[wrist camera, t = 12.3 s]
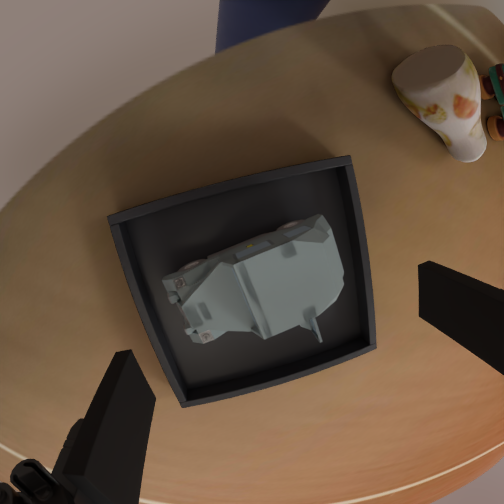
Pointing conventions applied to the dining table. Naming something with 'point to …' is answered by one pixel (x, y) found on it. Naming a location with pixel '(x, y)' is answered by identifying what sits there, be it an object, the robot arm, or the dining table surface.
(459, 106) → the mug
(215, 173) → the dining table surface
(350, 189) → the tray
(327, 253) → the toy car
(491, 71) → the binoculars
